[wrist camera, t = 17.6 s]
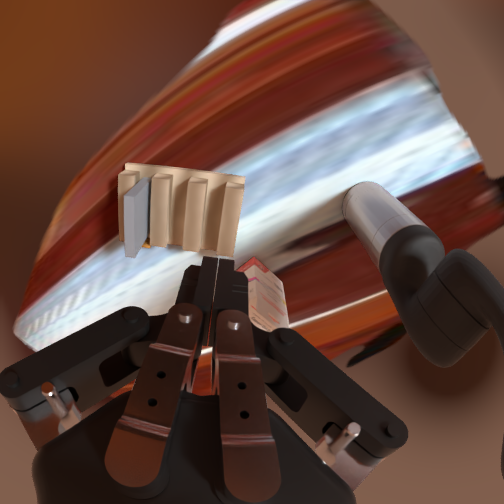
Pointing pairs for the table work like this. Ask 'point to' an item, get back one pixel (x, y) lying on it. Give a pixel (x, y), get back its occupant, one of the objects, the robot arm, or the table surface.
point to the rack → (187, 207)
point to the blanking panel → (137, 216)
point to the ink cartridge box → (265, 297)
